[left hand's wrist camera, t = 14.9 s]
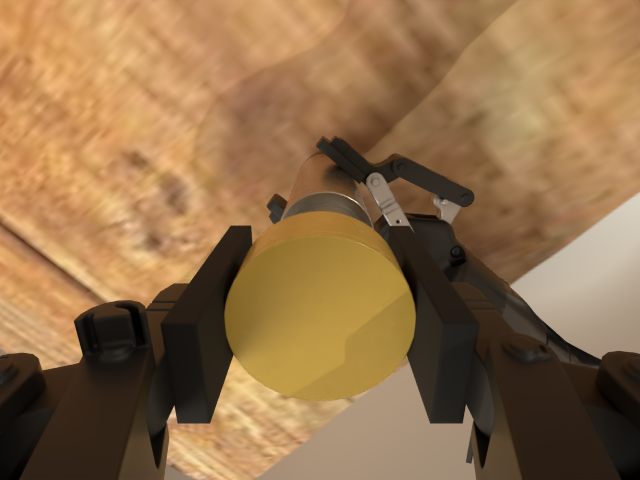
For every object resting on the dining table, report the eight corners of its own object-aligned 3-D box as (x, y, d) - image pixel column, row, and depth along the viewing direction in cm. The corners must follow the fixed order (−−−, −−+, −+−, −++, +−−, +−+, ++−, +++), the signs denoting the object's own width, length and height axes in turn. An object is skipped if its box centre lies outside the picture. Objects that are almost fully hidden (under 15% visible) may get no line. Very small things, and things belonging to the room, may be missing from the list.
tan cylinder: (297, 204, 32) (270, 301, 16) (299, 151, 31) (271, 198, 15) (349, 207, 32) (375, 307, 16) (354, 154, 31) (387, 205, 15)
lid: (426, 313, 12) (447, 355, 10) (293, 375, 13) (288, 426, 11) (353, 179, 11) (361, 197, 9) (208, 260, 12) (184, 294, 10)
